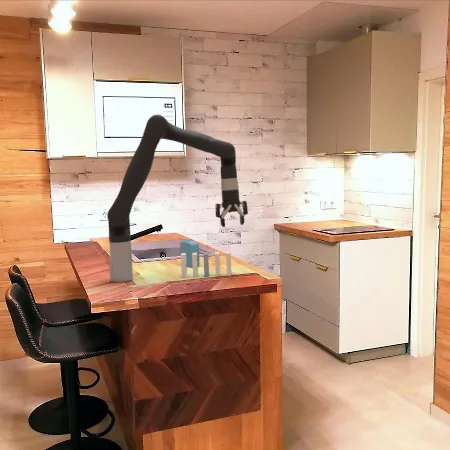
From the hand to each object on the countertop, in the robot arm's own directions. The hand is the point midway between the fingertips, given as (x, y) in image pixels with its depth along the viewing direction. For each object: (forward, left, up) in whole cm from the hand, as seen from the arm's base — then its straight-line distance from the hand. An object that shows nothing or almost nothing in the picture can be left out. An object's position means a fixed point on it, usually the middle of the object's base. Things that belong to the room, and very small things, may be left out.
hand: (232, 225), depth 221 cm
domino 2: (-17, +1, -22) cm, 28 cm away
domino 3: (-12, +1, -22) cm, 25 cm away
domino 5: (-2, +1, -22) cm, 22 cm away
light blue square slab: (-22, +27, -22) cm, 42 cm away
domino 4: (-7, +1, -22) cm, 23 cm away
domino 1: (-22, +1, -22) cm, 31 cm away
